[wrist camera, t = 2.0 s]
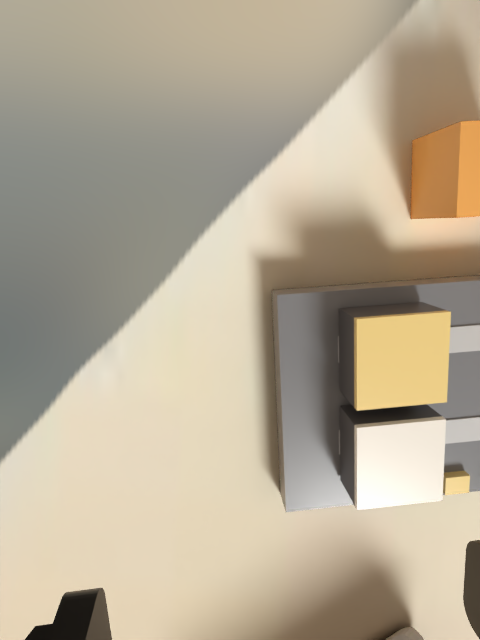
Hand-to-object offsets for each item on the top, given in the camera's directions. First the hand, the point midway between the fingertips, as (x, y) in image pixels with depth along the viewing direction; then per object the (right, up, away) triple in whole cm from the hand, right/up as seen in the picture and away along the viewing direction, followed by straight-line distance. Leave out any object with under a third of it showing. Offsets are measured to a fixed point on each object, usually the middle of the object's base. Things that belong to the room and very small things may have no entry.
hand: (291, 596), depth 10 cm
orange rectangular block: (+11, +15, +17) cm, 25 cm away
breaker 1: (+7, +4, +17) cm, 18 cm away
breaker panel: (+10, +2, +20) cm, 22 cm away
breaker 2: (+7, -1, +18) cm, 19 cm away
